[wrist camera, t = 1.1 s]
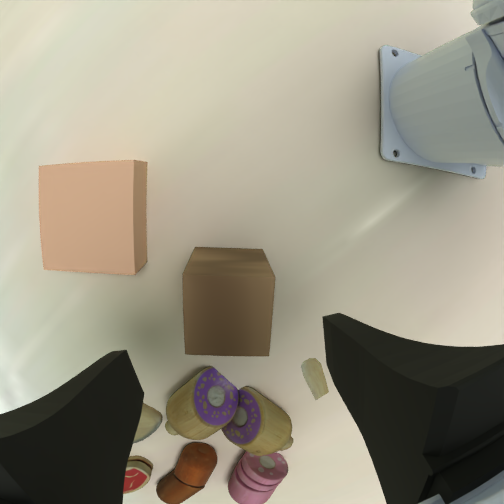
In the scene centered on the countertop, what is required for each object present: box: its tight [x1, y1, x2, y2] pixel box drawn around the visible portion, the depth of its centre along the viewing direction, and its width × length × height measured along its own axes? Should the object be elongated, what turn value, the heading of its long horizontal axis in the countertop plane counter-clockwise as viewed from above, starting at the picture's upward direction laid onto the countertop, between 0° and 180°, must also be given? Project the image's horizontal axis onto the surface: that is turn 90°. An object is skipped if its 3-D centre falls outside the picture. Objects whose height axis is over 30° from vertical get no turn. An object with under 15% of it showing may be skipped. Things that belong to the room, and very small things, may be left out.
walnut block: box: [183, 247, 275, 356], centre depth 17 cm, size 4×4×6 cm
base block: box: [39, 160, 147, 275], centre depth 17 cm, size 6×6×3 cm
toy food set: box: [123, 358, 329, 504], centre depth 21 cm, size 26×16×4 cm, turn 109°
